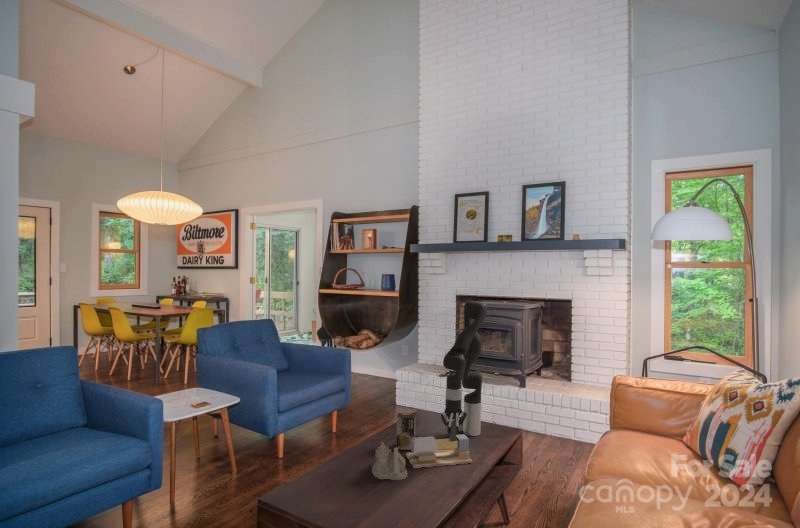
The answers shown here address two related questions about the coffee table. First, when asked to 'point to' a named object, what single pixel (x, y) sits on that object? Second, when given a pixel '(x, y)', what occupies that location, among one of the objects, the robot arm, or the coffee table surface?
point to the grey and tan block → (424, 449)
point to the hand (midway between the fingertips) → (452, 433)
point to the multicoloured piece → (452, 440)
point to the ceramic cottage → (389, 464)
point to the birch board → (439, 459)
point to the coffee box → (405, 430)
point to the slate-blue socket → (462, 447)
